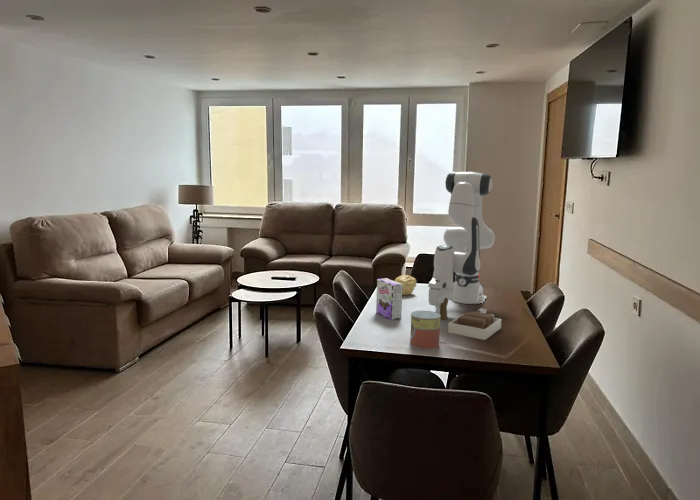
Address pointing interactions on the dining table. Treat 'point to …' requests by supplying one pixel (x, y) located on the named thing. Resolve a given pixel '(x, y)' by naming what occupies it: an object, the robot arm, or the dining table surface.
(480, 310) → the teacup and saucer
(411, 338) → the canned food
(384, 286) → the candy box
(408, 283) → the beige rounded lump
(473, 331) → the tote
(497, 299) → the dining table surface
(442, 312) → the olive waisted cylinder
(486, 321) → the walnut block
